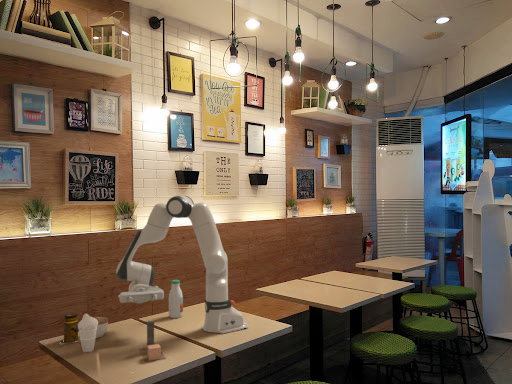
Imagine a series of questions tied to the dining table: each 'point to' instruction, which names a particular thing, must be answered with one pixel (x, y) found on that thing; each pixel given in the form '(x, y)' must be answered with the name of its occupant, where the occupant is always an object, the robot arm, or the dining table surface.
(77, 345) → the dining table surface
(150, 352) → the terracotta block
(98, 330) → the lidded jar
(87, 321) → the soft serve ice cream cone
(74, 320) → the condiment
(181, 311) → the milk bottle
